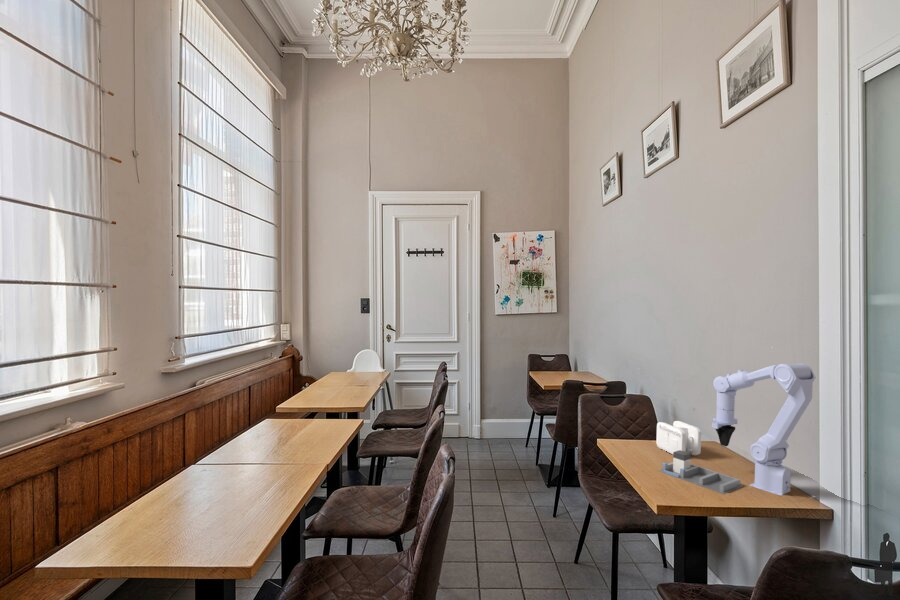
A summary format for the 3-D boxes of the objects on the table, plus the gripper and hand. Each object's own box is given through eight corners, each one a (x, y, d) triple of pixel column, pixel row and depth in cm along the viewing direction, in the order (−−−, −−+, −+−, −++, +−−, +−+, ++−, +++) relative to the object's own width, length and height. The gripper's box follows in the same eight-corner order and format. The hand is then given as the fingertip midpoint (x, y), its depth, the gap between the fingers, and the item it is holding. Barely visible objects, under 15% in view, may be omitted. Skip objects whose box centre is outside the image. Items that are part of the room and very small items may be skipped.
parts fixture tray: (743, 487, 154) (743, 477, 154) (723, 496, 147) (723, 485, 147) (677, 465, 173) (678, 456, 173) (657, 472, 166) (657, 462, 166)
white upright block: (689, 472, 164) (690, 453, 164) (683, 474, 162) (684, 455, 162) (679, 469, 168) (679, 450, 168) (672, 471, 166) (673, 451, 166)
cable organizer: (702, 458, 182) (703, 429, 182) (680, 460, 179) (681, 430, 179) (675, 446, 197) (676, 419, 196) (654, 447, 194) (655, 420, 194)
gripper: (724, 404, 176) (723, 439, 176) (703, 408, 168) (702, 445, 168) (743, 408, 170) (742, 444, 170) (723, 412, 162) (722, 450, 162)
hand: (724, 445), depth 169 cm, fingers closed
